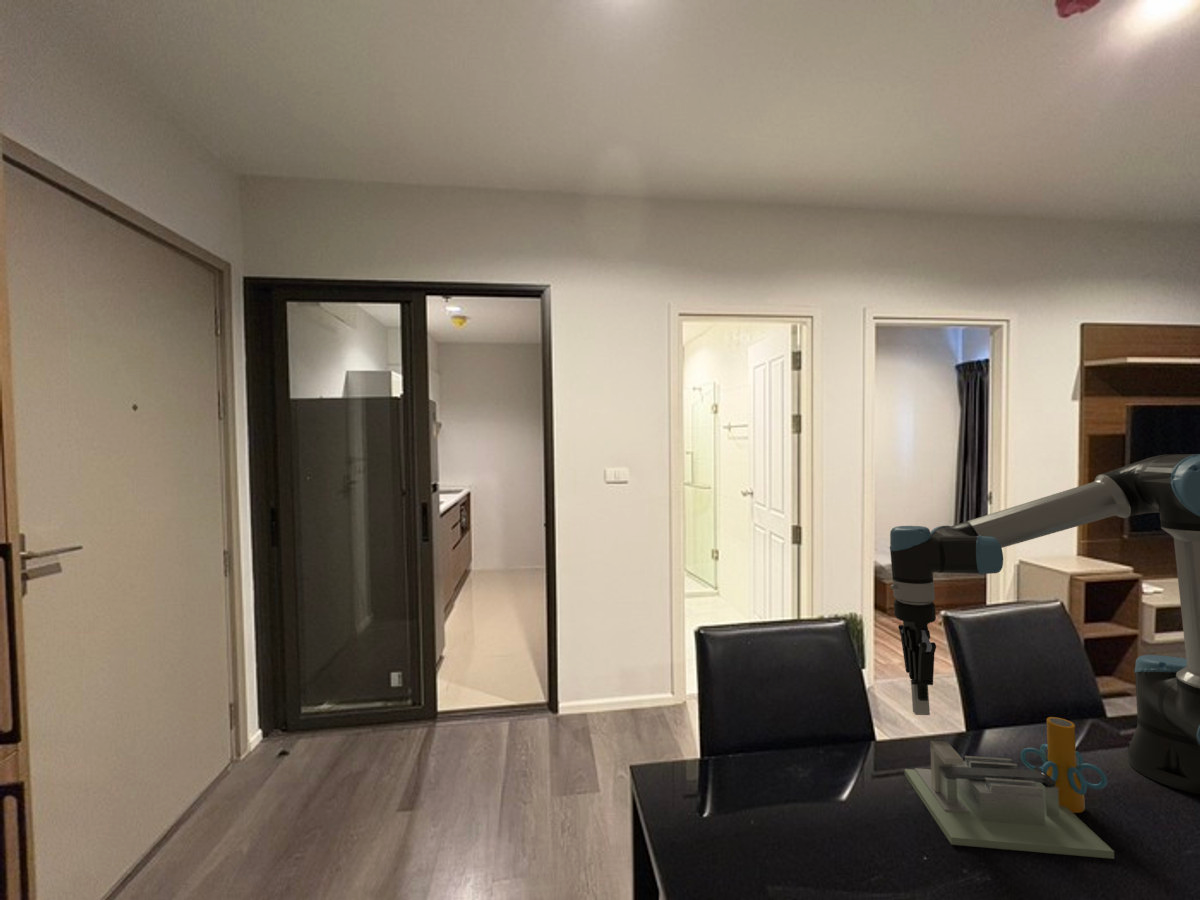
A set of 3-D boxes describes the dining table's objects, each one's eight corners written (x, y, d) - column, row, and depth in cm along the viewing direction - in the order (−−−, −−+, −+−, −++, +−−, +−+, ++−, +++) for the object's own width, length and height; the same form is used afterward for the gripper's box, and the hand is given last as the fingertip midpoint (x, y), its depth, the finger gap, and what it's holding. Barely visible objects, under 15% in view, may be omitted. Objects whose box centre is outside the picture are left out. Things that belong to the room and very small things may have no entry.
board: (1035, 783, 106) (1035, 776, 106) (1114, 858, 86) (1113, 849, 86) (904, 774, 110) (904, 767, 110) (951, 844, 90) (951, 835, 90)
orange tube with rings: (1121, 828, 93) (1118, 741, 93) (1053, 822, 95) (1050, 737, 95) (1072, 786, 105) (1070, 708, 105) (1013, 781, 107) (1010, 705, 107)
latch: (948, 788, 103) (947, 741, 103) (964, 808, 97) (962, 759, 97) (931, 787, 103) (930, 740, 103) (946, 807, 97) (944, 758, 97)
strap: (1041, 773, 99) (1040, 767, 99) (1055, 786, 95) (1055, 779, 95) (937, 769, 102) (937, 762, 102) (947, 781, 98) (946, 775, 98)
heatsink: (1034, 792, 102) (1033, 759, 102) (1071, 828, 92) (1069, 791, 92) (932, 784, 105) (931, 752, 105) (957, 819, 95) (956, 783, 95)
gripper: (883, 592, 120) (890, 699, 119) (907, 608, 107) (914, 728, 106) (920, 592, 119) (927, 699, 118) (948, 608, 106) (956, 729, 105)
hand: (921, 713), depth 112 cm, fingers closed
